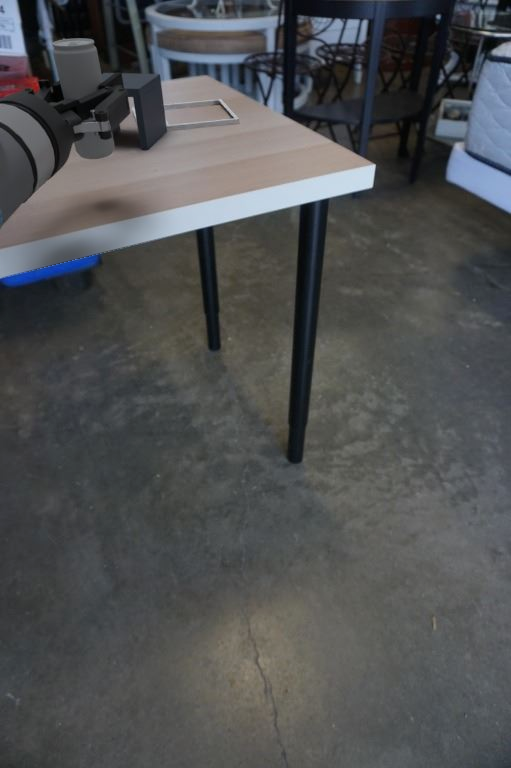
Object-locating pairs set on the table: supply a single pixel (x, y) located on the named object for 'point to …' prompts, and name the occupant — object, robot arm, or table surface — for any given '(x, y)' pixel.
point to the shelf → (145, 105)
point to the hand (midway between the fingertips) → (98, 84)
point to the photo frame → (197, 124)
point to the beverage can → (81, 86)
